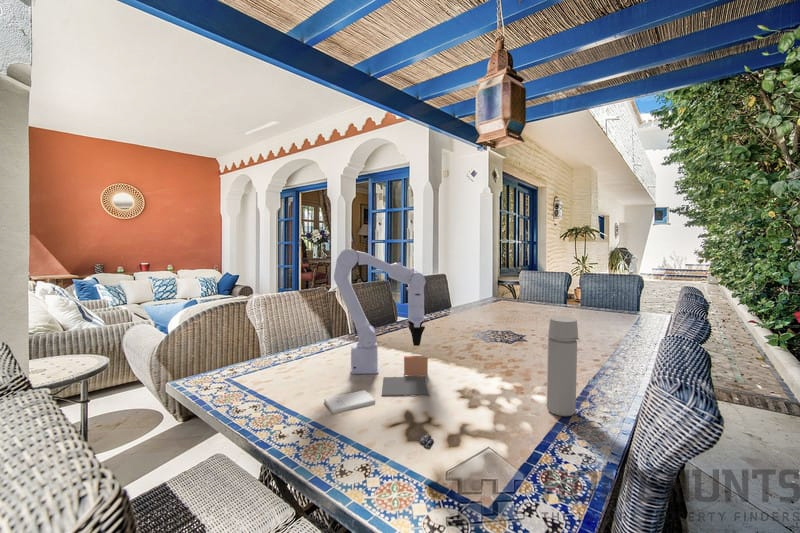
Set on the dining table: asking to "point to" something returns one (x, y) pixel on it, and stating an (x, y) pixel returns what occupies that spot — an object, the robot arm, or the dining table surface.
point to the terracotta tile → (415, 365)
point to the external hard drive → (349, 401)
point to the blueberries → (426, 441)
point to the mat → (404, 386)
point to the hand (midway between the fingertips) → (416, 342)
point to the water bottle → (562, 366)
